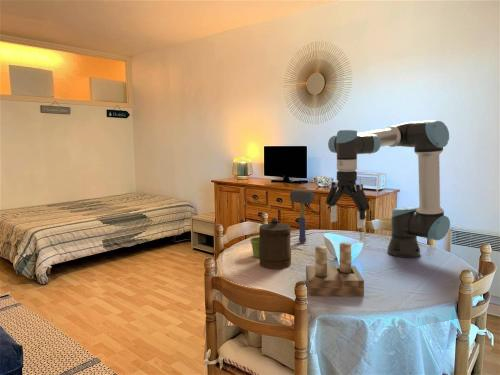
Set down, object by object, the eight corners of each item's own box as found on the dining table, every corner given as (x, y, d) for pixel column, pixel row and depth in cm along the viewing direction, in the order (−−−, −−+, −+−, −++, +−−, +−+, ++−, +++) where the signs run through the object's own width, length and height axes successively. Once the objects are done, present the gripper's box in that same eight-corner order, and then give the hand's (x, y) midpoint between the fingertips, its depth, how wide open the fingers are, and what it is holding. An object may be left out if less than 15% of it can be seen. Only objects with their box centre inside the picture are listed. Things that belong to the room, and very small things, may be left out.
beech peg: (350, 276, 150) (350, 242, 148) (352, 280, 145) (352, 245, 143) (338, 276, 150) (338, 242, 148) (340, 280, 146) (340, 245, 144)
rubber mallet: (315, 242, 210) (315, 189, 206) (309, 245, 204) (308, 191, 200) (296, 239, 217) (295, 188, 213) (289, 242, 211) (288, 190, 207)
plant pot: (272, 257, 186) (271, 240, 185) (254, 260, 182) (254, 242, 181) (264, 252, 194) (263, 236, 193) (247, 254, 191) (247, 238, 190)
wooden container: (297, 263, 177) (296, 217, 174) (278, 271, 166) (277, 223, 163) (272, 257, 186) (271, 213, 184) (253, 264, 175) (251, 219, 173)
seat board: (355, 279, 154) (355, 239, 151) (363, 296, 138) (364, 251, 136) (306, 279, 155) (305, 240, 153) (309, 295, 139) (308, 251, 137)
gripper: (316, 169, 152) (317, 220, 154) (366, 173, 131) (365, 232, 134) (330, 168, 156) (330, 218, 158) (380, 171, 135) (379, 228, 138)
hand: (346, 224), depth 146 cm, fingers open, 13 cm apart
